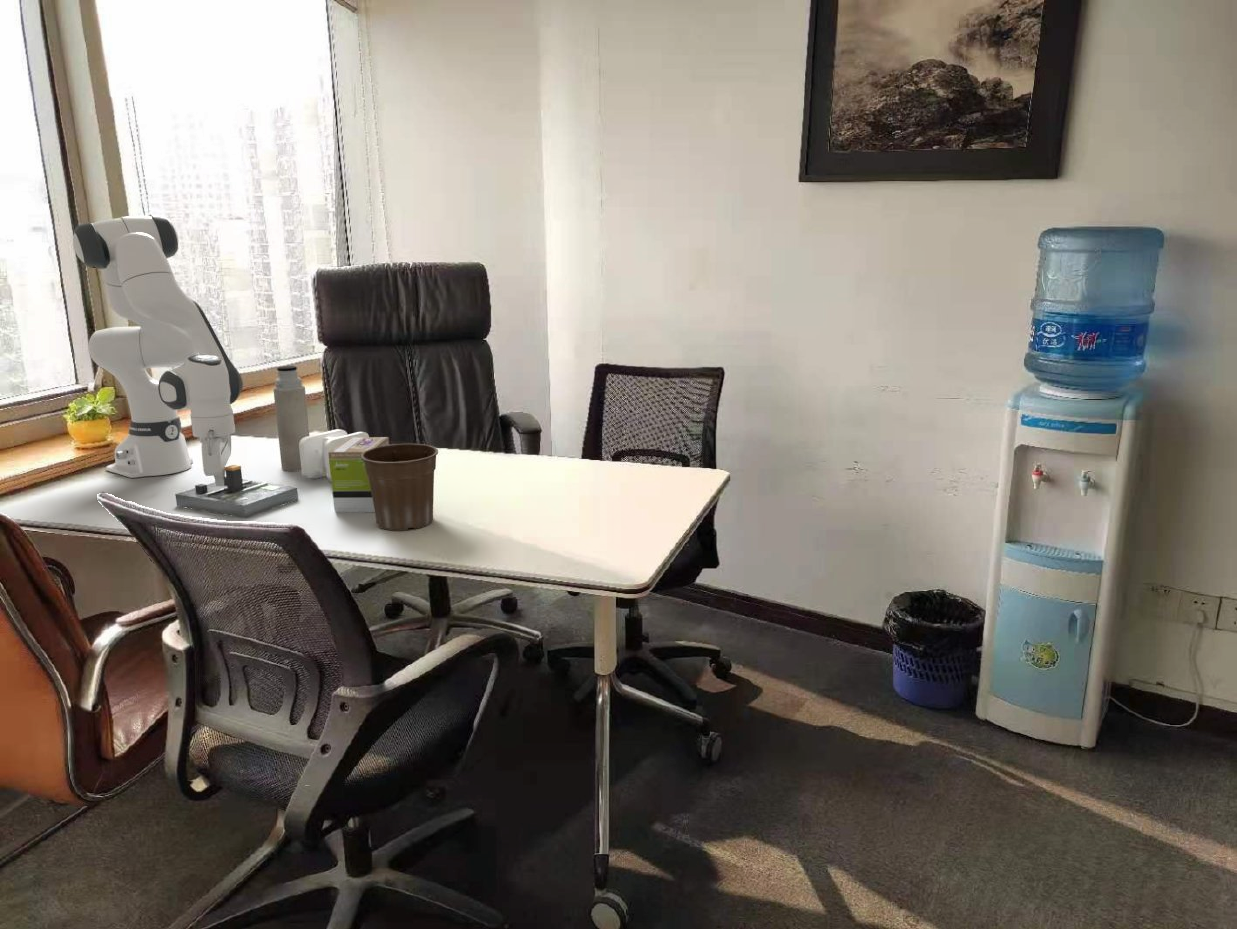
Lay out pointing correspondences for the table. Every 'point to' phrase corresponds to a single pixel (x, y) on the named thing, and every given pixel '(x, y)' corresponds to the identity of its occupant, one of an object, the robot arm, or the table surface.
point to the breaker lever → (234, 478)
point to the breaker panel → (237, 498)
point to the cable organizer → (321, 451)
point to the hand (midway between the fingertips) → (220, 484)
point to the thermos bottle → (290, 416)
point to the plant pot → (401, 484)
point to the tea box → (352, 474)
